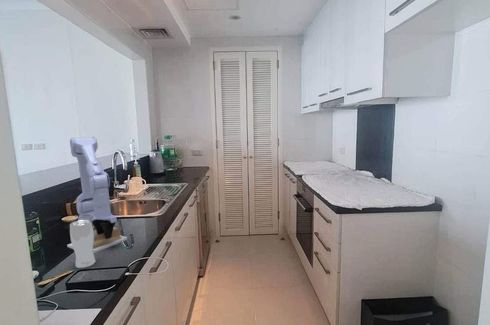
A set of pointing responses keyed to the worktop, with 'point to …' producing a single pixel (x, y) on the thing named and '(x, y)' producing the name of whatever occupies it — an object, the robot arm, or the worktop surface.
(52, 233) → the worktop surface
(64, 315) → the worktop surface
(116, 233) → the wood collar
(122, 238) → the post stand
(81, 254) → the beer glass
